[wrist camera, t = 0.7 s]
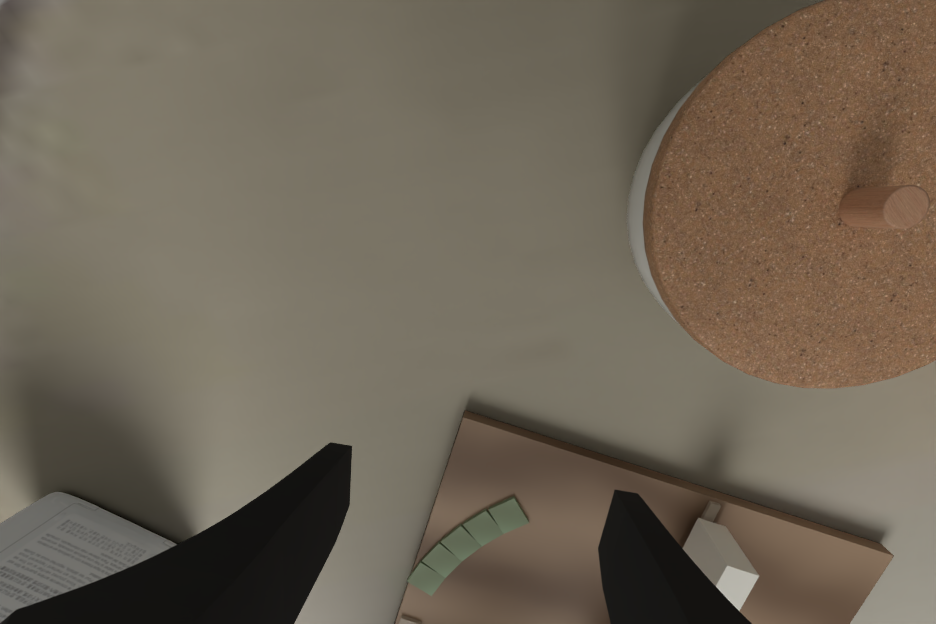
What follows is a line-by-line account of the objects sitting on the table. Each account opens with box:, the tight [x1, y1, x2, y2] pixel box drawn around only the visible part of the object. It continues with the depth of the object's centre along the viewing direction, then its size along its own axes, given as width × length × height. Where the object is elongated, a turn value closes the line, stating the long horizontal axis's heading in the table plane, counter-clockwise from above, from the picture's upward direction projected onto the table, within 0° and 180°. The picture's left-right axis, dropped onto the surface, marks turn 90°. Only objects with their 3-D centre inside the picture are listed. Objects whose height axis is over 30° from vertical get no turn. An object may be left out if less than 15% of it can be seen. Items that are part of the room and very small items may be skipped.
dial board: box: [395, 410, 894, 624], centre depth 25 cm, size 18×22×1 cm
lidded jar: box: [627, 0, 936, 388], centre depth 15 cm, size 11×11×9 cm
